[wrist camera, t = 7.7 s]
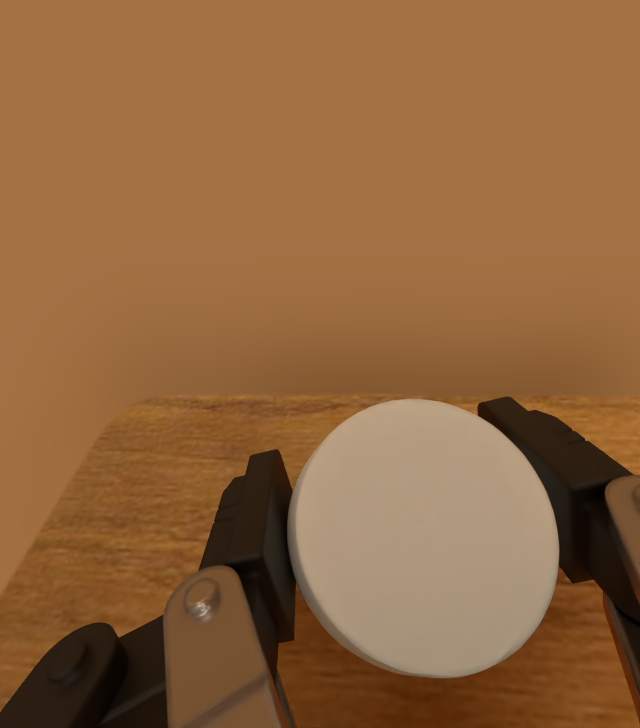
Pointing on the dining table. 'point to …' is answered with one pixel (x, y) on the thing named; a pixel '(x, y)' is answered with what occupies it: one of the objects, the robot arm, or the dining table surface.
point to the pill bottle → (423, 540)
